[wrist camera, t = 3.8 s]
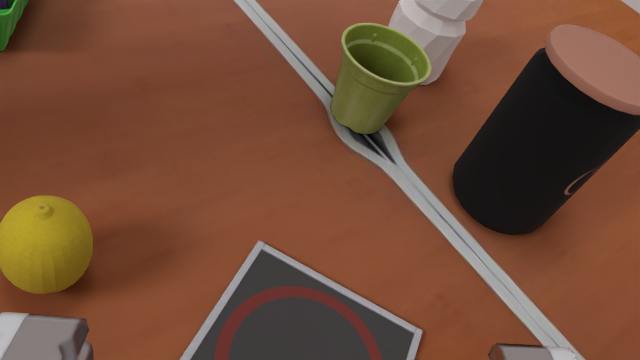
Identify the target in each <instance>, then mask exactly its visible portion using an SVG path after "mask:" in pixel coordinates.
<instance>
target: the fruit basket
mask: <svg viewBox="0 0 640 360" xmlns="http://www.w3.org/2000/svg"><path fill="white" fill-rule="evenodd" d="M28 1H29V0H0V51H4V50H5V48H6V46H7V44H8V41H9V37H10V36H11V35H12V34H13V31H14V29H15V27H16V23H17V21H19V19H20V17H21V15H22V13H23V10H24V7H26V5H27V3H28Z"/></svg>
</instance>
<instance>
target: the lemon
mask: <svg viewBox="0 0 640 360" xmlns="http://www.w3.org/2000/svg"><path fill="white" fill-rule="evenodd" d="M92 253H93V235H92V231H91V228H90V226H89V223H88V221H87V219H86V217H85V215H84V214H83V213H82V212H81V210H80V209H79V208H78V207H77V206H76V205H74V204H73V203H71V202H70V201H68V200H66V199H63V198H61V197H56V196H51V195H41V196H35V197H31V198H28V199H25V200H23V201H21V202H20V203H18V204H16V205H15V206H14V207H13V208H12V209H11V210H9V211H8V212H7V214H6V215H5V217H4V218H3V220H2V222H1V223H0V268H1V270H2V272H3V274H4V275H5V277H6V278H7V279H8V280H9V281H10V282H11V283H12V284H13V285H15V286H17V287H18V288H20V289H22V290H24V291H27V292H30V293H34V294H50V293H56V292H58V291H61V290H64V289H66V288H68V287H69V286H71V285H73V284H74V283H75V282H76V281H77V280H78V279H79V278H80V277H81V276H82V275H83V274H84V272H85V271H86V269H87V267H88V266H89V264H90V260H91V257H92Z"/></svg>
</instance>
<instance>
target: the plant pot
mask: <svg viewBox="0 0 640 360" xmlns="http://www.w3.org/2000/svg"><path fill="white" fill-rule="evenodd" d="M341 44H342V48H343V49H342V62H341V67H340V70H339V74H338V78H337V82H336V86H335V90H334V94H333V98H332V102H331V112H332V114H333V116H334V118H335V119H336V120H337V121H338V122H339V123H340V124H341V125H343V126H347V127H349V128H350V129H352V130H353V131H354V132H356V133H360V134H372V133H375V132H377V131H378V130H380V129H381V128H382V126H383V125H384V124H385V122H386V121H387V120H388V118H389V117H390V116H391V115H392V113H393V112H394V111H395V109H396V108H397V107H398V106H399V104H400V103H401V102H402V101H403V99H404V98H405V97H406V96H407V94H408V93H409V92H410V91H412V90H413V89H414V88H416V86H417V85H419V84H421V83H423V82H424V81H425V80H426V79H427V78H428V77H429V75H430V73H431V63H430V60H429V58H428V56H427V54H426V53H425V51H424V50H423V49H422V48H421V47H420V46H419V45H418V44H417V43H416V42H415V41H414V40H412V39H411V38H409V37H408V36H406V35H405V34H403V33H401V32H399V31H397V30H395V29H393V28H390V27H387V26H384V25H380V24H375V23H358V24H355V25H352V26H350V27H348V28H347V29H346V30H345V31H344V33H343V36H342V39H341Z"/></svg>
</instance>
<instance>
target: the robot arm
mask: <svg viewBox="0 0 640 360" xmlns="http://www.w3.org/2000/svg"><path fill="white" fill-rule="evenodd" d="M88 331H89V328H88V325H87V321H86V319H84V318H74V317H62V316H51V315H40V314H28V313H14V312H2V313H1V314H0V360H93V349H92V345H91V344H90V343H89V342H88V341H87V340H85V338H86V336H87V333H88ZM488 355H489V359H490V360H577V359H576V357H575V355H574V353H573V351H572V350H570V349H569V348H566V347H550V346H541V345H523V344H502V343H496V344H495V345H493V346H492V347H491V350H490V352H489V354H488Z"/></svg>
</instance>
